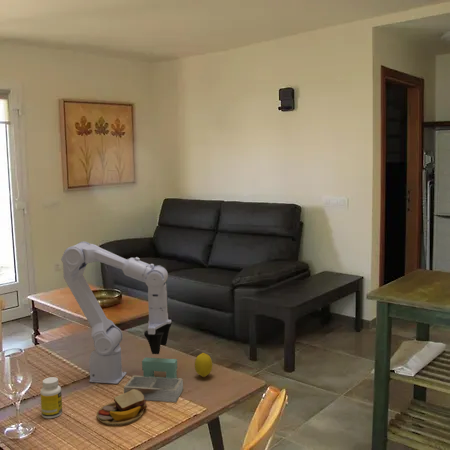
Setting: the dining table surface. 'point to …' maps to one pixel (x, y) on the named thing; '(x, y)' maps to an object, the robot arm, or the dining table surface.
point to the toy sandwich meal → (123, 409)
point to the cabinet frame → (156, 387)
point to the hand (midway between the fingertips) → (159, 349)
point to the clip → (159, 366)
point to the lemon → (203, 364)
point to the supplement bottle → (51, 398)
